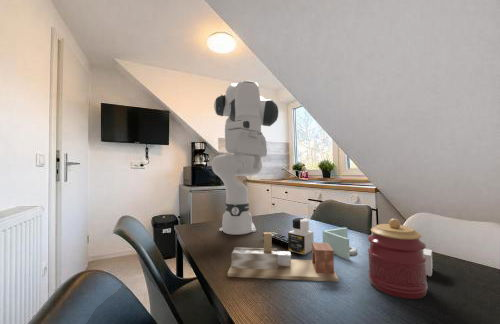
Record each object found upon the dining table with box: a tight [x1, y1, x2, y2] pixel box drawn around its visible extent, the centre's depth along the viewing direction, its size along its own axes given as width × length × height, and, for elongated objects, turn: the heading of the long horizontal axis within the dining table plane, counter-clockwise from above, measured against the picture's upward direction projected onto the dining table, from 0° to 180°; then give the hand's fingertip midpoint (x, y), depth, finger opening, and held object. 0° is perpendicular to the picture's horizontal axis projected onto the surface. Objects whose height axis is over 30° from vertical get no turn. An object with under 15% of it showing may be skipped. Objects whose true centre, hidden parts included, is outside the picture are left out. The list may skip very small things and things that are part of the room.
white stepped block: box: [232, 231, 292, 266], centre depth 71 cm, size 18×3×9 cm, turn 83°
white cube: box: [423, 248, 434, 277], centre depth 69 cm, size 6×6×6 cm
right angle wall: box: [322, 227, 357, 261], centre depth 86 cm, size 12×12×8 cm
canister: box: [367, 218, 428, 300], centre depth 60 cm, size 13×13×18 cm
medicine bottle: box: [287, 217, 315, 256], centre depth 87 cm, size 7×7×12 cm
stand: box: [227, 242, 339, 283], centre depth 70 cm, size 31×12×8 cm, turn 83°
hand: (248, 168), depth 76 cm, fingers open, 8 cm apart
